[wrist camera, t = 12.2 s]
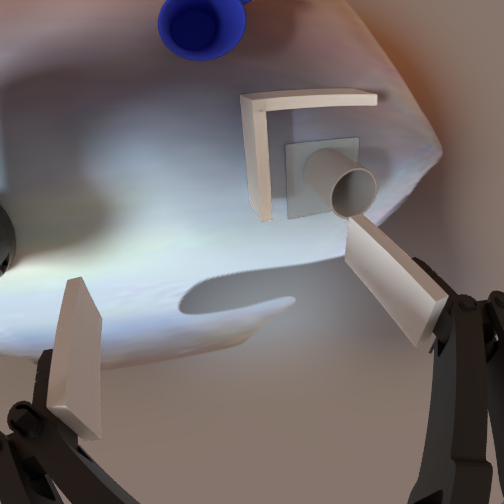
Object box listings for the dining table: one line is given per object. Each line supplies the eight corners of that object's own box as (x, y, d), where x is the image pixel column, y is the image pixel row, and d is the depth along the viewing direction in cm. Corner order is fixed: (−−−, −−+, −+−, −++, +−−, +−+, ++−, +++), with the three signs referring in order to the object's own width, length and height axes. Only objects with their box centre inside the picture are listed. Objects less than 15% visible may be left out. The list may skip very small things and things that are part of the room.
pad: (287, 218, 50) (288, 219, 49) (284, 144, 43) (285, 145, 43) (353, 205, 52) (354, 206, 52) (358, 137, 45) (359, 137, 45)
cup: (337, 139, 44) (371, 159, 37) (352, 194, 50) (383, 220, 43) (295, 159, 44) (323, 182, 37) (314, 213, 50) (341, 243, 43)
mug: (264, 22, 32) (294, 13, 24) (185, 74, 34) (192, 77, 26) (227, -25, 27) (248, -48, 20) (145, 27, 29) (140, 15, 21)
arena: (249, 202, 46) (261, 221, 42) (239, 94, 37) (251, 100, 32) (350, 184, 49) (370, 200, 45) (353, 88, 40) (377, 94, 35)
